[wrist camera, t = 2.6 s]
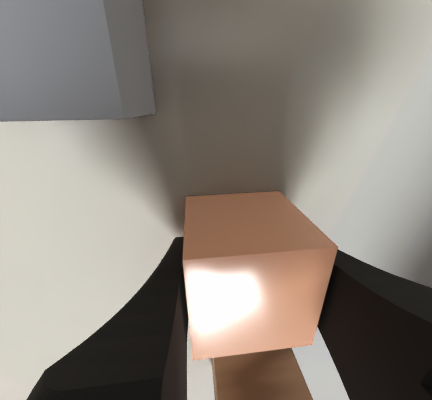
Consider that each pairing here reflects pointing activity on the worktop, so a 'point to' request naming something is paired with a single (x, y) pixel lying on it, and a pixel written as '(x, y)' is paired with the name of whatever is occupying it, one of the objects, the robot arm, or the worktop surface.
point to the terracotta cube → (252, 273)
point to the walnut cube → (259, 377)
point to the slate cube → (74, 60)
